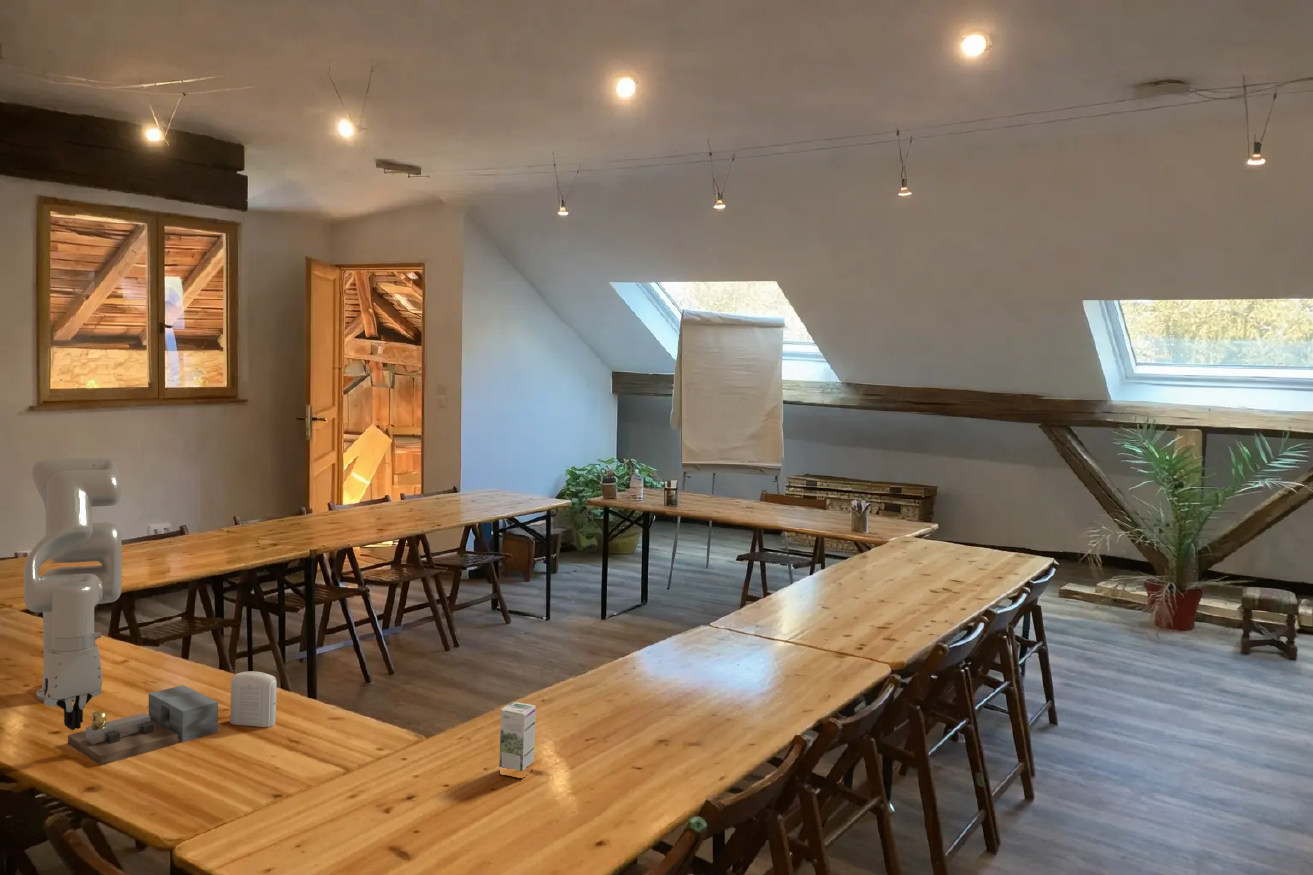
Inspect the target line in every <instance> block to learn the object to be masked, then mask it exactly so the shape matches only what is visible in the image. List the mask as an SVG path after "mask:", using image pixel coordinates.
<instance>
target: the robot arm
mask: <svg viewBox="0 0 1313 875" xmlns="http://www.w3.org/2000/svg"><path fill="white" fill-rule="evenodd" d="M31 469H32V471H31V474H32V481H33V483H34V487H35V488H36V490H37V492H38V494H39V496H40V498H41V500H42V502H43V505H44V508H45V536H44V537H43V538H41V540H39V542H37V544H35V545H34V546H33V548H32V550H31V551H30V552H29V554H28V556H27V558H26V560H25V563H24V568H23V602H24V604H25V607H26V608H27V610H29V611H30V612H33V613H42V622H43V623H42V624H43V674H42V687H41V688H39V689H38V690H37V691H36V694H35V696H36V697H35V698H36V699H37V700H38V701H41V702H43V704H44V705H45V706H46V707H60V708H61V709H62V710H63V724H64V726H65V727H67V728H68V729H69V730H70V731H74V730H76V729H77V730H78V729H82V728H81V726H82V725H81V724H82V723H83V722H84V721H83V720H84V718H83V717H84V716H83V715H84V711H83V710H84V709H85V708H86V705H87V704H88V703H89V701H91V700H92V699H93V698H95V697H97V696H100V695H101V694H102V693H103V690H102V685H103V670H102V669H103V668H102V662H101V656H100V651H99V646H98V644H96V640H97V639H100V638H102V633H101V631H95V607H96V606H97V605H100V604H109V603H113V602H116V601H117V600H118V599H119V598H120V596H121V594H122V586H123V584H122V583H123V572H122V571H123V563H122V562H123V560H122V559H123V553H122V552H123V550H122V548H123V546H122V544H123V543H122V535H121V534H122V533H121V531H120V528H119V527H118V525H116V524H115V523H113V522H109V521H108V522H105V521H104V522H103V521H101V522H93V520H92V519H93V517H92V515H93V514H92V507H93V508H94V507H111V506H112V507H114V506H116V505H117V504H118V503H119V502H120V500H121V496H122V480H121V478H122V477H121V475H120V471H119V467H118V464H117V462H116V461H115V460H114V459H112V458H106V457H105V458H104V457H97V458H96V457H95V458H93V457H90V458H88V457H87V458H85V457H84V458H83V457H82V458H77V457H71V458H70V457H69V458H65V457H64V458H63V457H62V458H47V459H42V460H39V461H36V462H35V463H34V465H33V466H32V468H31ZM47 560H50V561H51V562H53V563H58V564H71V563H88V562H89V563H90V562H91V563H92V562H99V563H100V565H99V564H98V565H83V566H82V565H80V566H79V565H77V566H66V567H64V566H63V567H58V568H52V569H49V570H47V571H45V572H44V573H42V575H41V576H40V574H39V572H40V568H41V567H42V565H43V564H44V563H45V562H46V561H47Z"/></svg>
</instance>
